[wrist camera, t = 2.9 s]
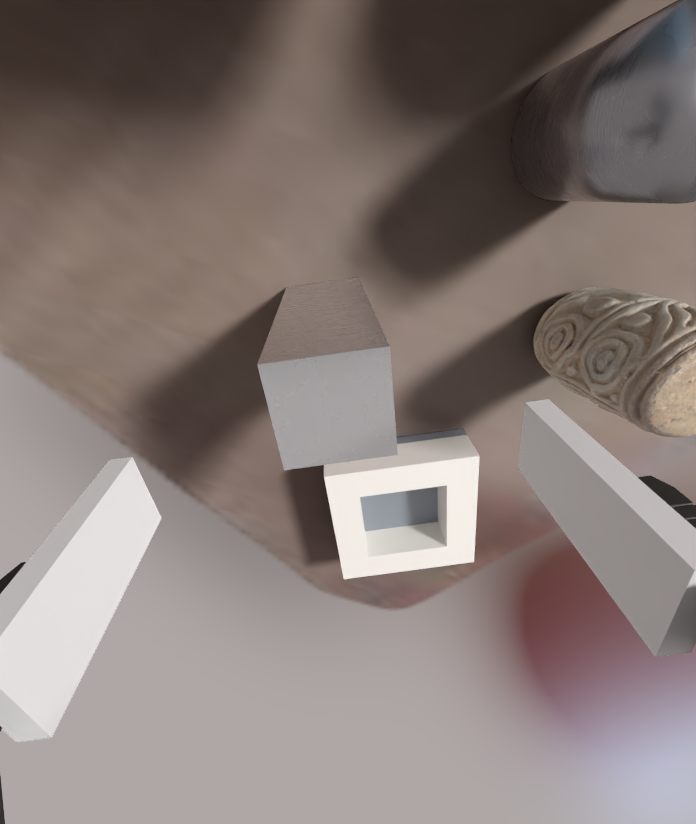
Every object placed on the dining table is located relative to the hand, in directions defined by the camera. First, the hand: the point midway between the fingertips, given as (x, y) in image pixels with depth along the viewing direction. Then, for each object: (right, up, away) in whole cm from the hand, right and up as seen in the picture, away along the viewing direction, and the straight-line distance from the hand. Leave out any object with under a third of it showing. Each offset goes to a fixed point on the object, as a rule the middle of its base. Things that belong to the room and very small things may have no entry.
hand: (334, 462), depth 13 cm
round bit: (+14, +18, +10) cm, 25 cm away
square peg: (-1, +8, +15) cm, 17 cm away
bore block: (+5, -6, +23) cm, 24 cm away
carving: (+17, +8, +16) cm, 25 cm away
